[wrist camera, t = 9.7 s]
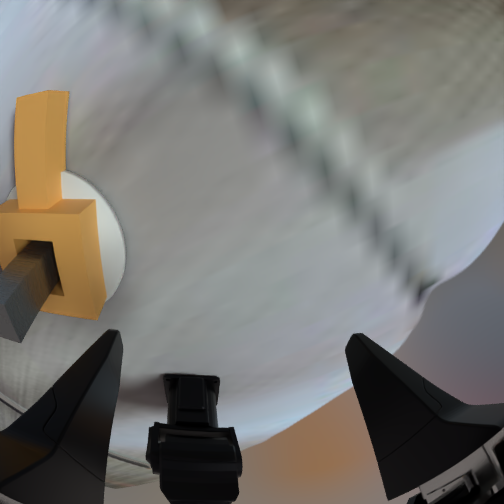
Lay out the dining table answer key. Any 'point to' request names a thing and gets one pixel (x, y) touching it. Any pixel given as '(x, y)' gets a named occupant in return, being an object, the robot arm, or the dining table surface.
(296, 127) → the dining table surface
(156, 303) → the dining table surface
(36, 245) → the dark grey post
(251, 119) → the dining table surface
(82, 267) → the bracket
